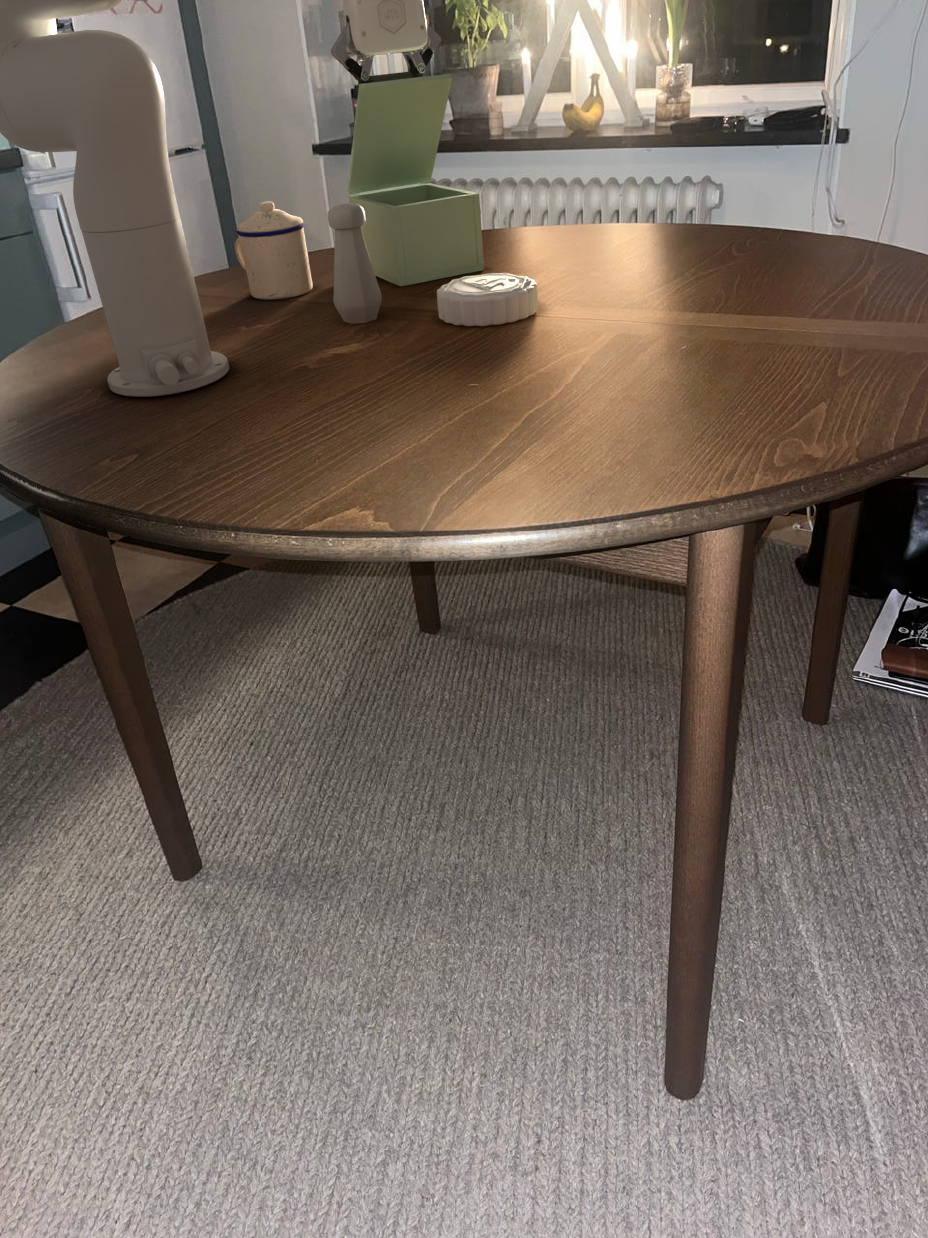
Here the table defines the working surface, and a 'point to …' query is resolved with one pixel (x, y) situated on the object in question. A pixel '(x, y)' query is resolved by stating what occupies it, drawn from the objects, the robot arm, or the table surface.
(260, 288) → the teacup with lid
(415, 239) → the green rectangular box
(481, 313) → the mooncake
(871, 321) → the table surface
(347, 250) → the salt shaker
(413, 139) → the green lid with handle
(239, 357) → the table surface
